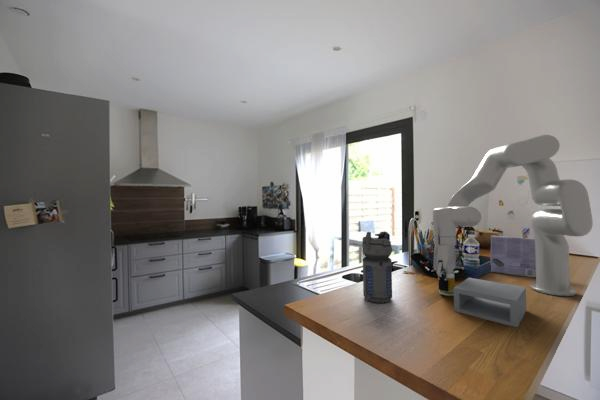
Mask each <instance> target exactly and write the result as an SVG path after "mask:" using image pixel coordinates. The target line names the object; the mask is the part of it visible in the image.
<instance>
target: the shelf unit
mask: <svg viewBox="0 0 600 400" xmlns="http://www.w3.org/2000/svg"><path fill="white" fill-rule="evenodd" d="M453 311H454V312H456V313H460V314H465V315H469V316H472V317H476V318H479V319H483V320H487V321H491V322H495V323H499V324H503V325H505V326H510V327H514V328H518V327H519V325H520V324H521V322H522V320H523V318H524V316H525V314H526V313H525V312H527V288H526V287H525V286H520V285H515V284H514V285H513V284H508V283H503V282H498V281H497V282H496V281H492V280H485V279H480V278H474V277H473V278H472V277H468V278H466V279H464V280H463V281H462V282H460V283H458V284H457V285H455V287H454V295H453Z"/></svg>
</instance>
